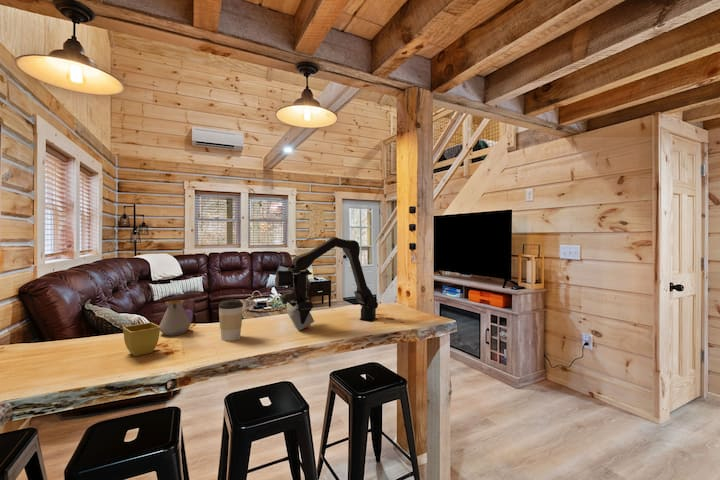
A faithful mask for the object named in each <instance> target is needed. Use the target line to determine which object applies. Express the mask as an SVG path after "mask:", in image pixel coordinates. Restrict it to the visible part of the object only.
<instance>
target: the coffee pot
mask: <svg viewBox="0 0 720 480" xmlns="http://www.w3.org/2000/svg"><path fill="white" fill-rule="evenodd" d="M184 302H185V301H184V300H183V299H173V300H169V301H168V300H167V301H165V302H164V304H165V305H166V306H167V308H166V311H165V312H164V315H163V317H162V319H161V321H160V323H159V325H158V326H160V333H162V334H163V335H165V336H170V337H171V336H178V335H182V334H185V333H186V332H187V331H188V330H189V329H190V327H191V324H192V323H191V322H190V319H189V318H188V315H187V313H186V311H185V309H184V307H183V303H184Z"/></svg>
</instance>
